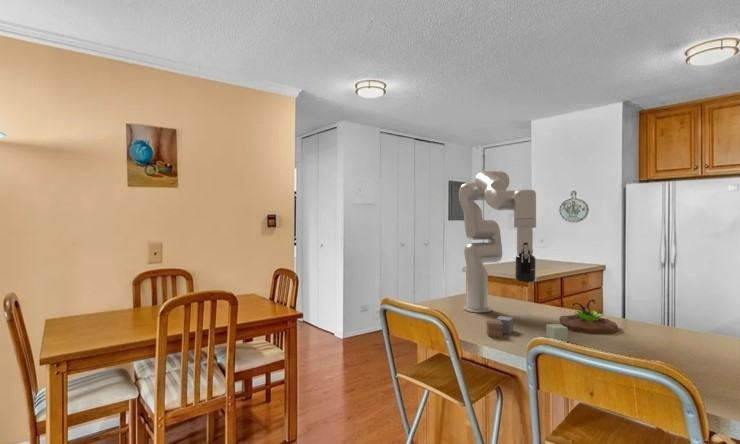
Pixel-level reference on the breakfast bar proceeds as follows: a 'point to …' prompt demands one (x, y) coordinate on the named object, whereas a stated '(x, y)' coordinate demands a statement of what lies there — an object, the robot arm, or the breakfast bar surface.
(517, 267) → the supplement bottle
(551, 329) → the sage cube
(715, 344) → the breakfast bar surface
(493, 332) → the walnut cube
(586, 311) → the plant
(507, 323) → the slate cube
